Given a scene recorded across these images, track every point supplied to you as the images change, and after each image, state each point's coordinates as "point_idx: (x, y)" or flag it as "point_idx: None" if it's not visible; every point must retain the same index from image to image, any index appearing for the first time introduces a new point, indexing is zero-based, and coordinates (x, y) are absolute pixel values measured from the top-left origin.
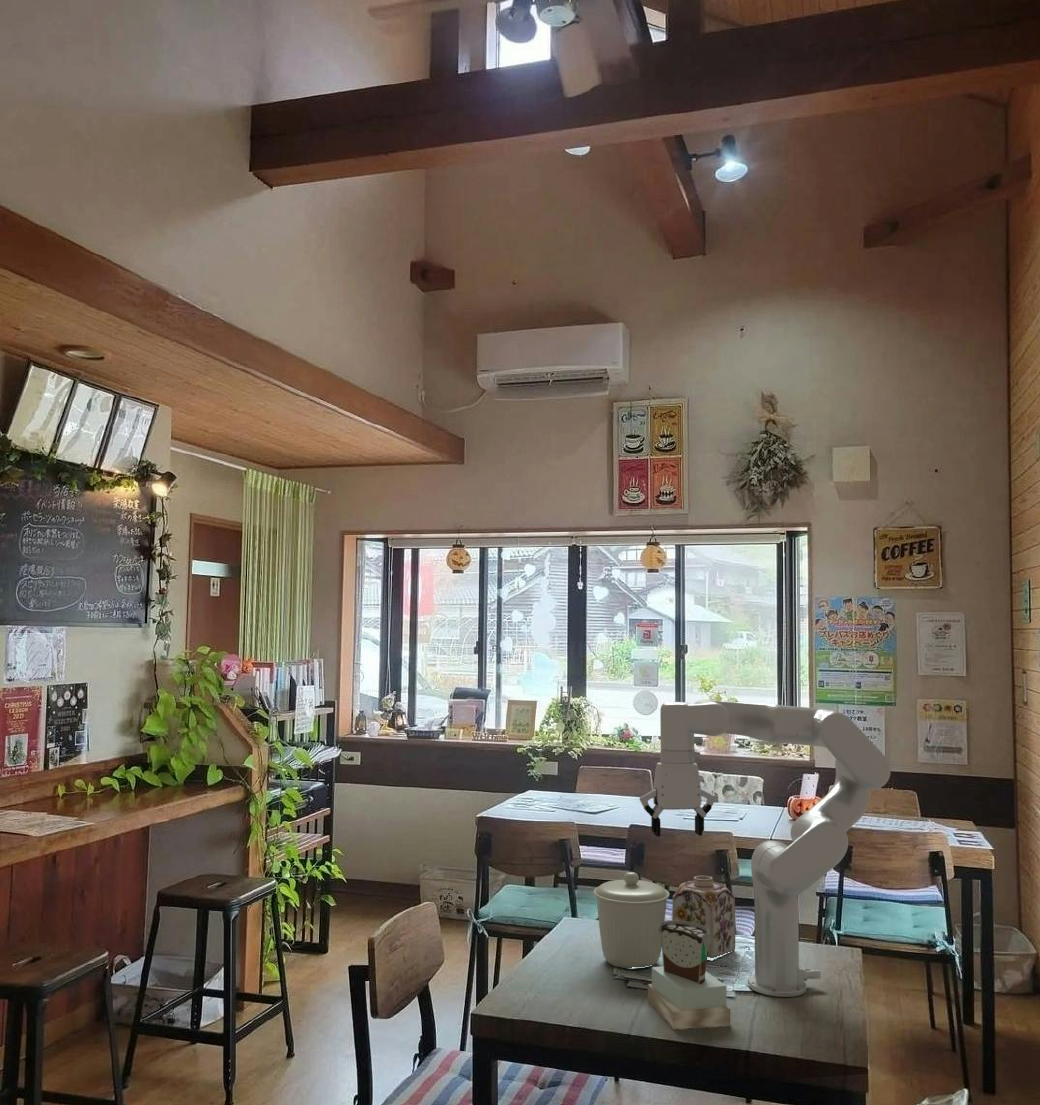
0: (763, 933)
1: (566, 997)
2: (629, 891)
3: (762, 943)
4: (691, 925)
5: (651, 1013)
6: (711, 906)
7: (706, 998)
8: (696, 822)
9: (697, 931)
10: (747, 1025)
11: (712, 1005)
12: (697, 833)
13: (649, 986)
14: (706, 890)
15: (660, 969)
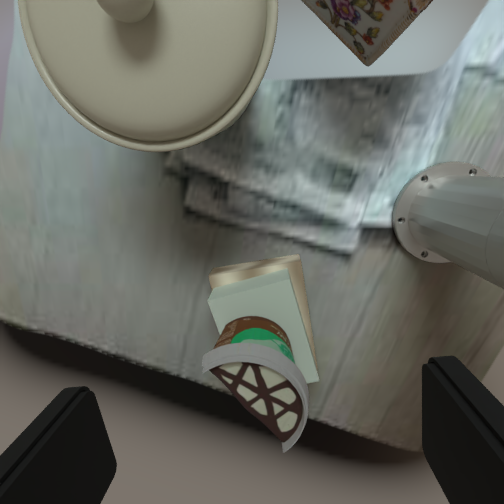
0: (469, 266)
1: (92, 257)
2: (128, 93)
3: (454, 256)
4: (277, 367)
5: None
6: (416, 13)
7: None
8: (486, 497)
9: (283, 400)
10: (338, 355)
11: None
12: (426, 424)
13: (210, 283)
14: None
15: (221, 311)
